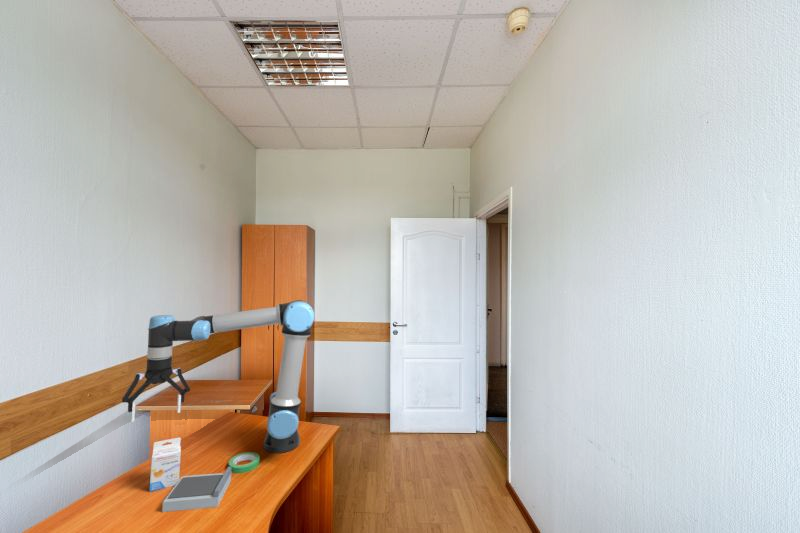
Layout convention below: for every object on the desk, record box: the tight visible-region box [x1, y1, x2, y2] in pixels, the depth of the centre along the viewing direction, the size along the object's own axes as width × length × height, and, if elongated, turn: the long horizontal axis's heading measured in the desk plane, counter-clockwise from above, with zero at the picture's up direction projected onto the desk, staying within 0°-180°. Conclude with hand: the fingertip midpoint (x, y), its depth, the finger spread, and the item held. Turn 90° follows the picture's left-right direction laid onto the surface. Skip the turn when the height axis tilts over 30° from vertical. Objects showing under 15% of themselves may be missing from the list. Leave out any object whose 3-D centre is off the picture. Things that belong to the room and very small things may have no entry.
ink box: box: [149, 437, 182, 493], centre depth 118 cm, size 8×5×15 cm, turn 123°
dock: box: [161, 467, 232, 513], centre depth 112 cm, size 16×14×5 cm
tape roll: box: [227, 451, 260, 475], centre depth 131 cm, size 11×11×3 cm
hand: (156, 415), depth 122 cm, fingers open, 13 cm apart
